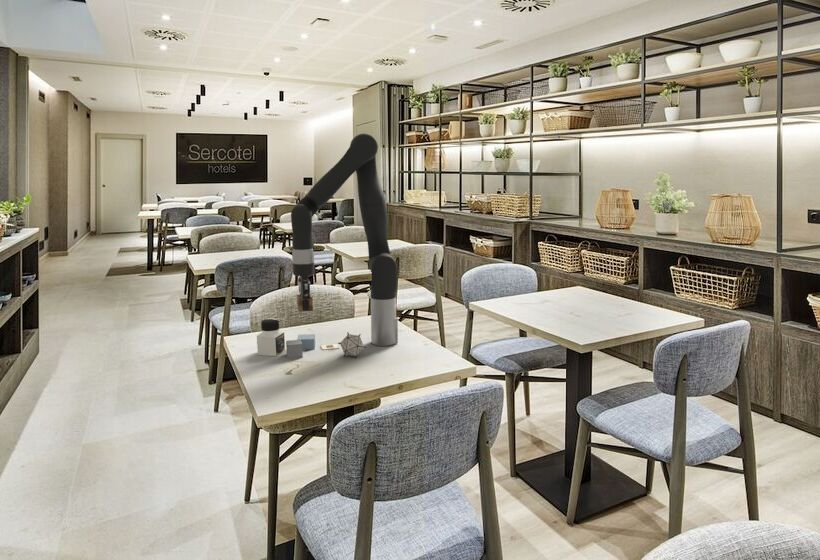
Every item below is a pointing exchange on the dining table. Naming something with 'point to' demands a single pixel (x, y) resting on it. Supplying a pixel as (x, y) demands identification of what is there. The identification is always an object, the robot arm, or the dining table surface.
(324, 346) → the card
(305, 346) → the base block
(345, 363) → the dining table surface
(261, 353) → the medicine bottle
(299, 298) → the walnut block
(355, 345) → the grey icosahedron
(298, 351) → the gray block
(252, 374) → the dining table surface
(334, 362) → the dining table surface
